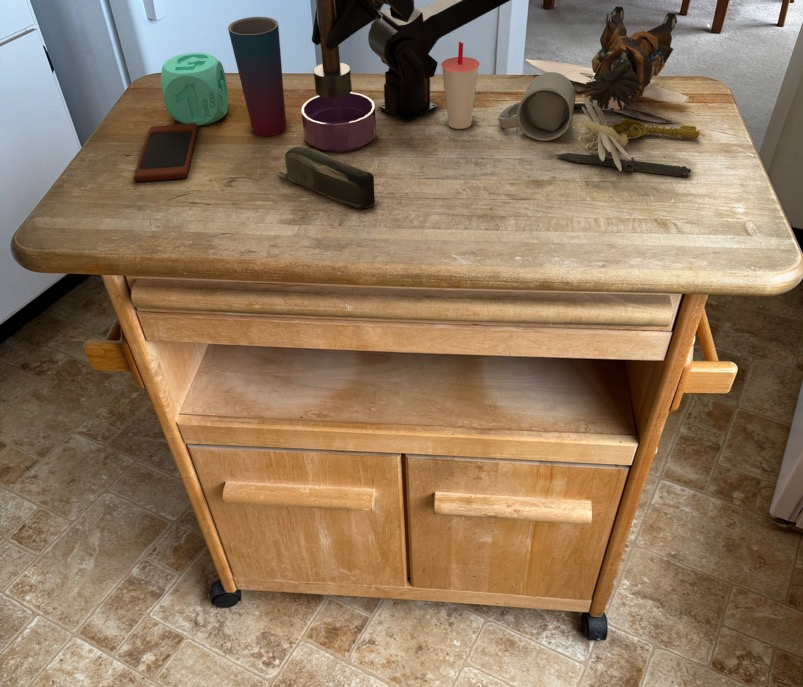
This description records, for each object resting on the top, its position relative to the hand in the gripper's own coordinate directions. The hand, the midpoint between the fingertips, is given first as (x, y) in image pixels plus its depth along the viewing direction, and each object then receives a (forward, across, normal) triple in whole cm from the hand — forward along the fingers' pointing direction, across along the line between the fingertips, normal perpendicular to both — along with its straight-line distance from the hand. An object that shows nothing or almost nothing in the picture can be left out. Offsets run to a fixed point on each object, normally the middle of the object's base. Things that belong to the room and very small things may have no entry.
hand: (321, 45), depth 99 cm
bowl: (+8, 0, +11) cm, 14 cm away
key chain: (-19, +21, +37) cm, 47 cm away
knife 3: (-7, +33, +26) cm, 43 cm away
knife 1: (-20, +18, +38) cm, 47 cm away
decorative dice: (+15, -22, +4) cm, 27 cm away
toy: (-6, +29, +26) cm, 40 cm away
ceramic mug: (-6, +19, +26) cm, 33 cm away
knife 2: (-13, +26, +32) cm, 43 cm away
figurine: (-30, +18, +42) cm, 54 cm away
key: (-13, +33, +33) cm, 48 cm away
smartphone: (+19, -21, 0) cm, 28 cm away
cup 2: (-2, +10, +22) cm, 24 cm away
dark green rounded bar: (+16, +10, +3) cm, 19 cm away
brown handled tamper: (+4, 0, +6) cm, 7 cm away
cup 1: (+12, -10, +8) cm, 18 cm away
